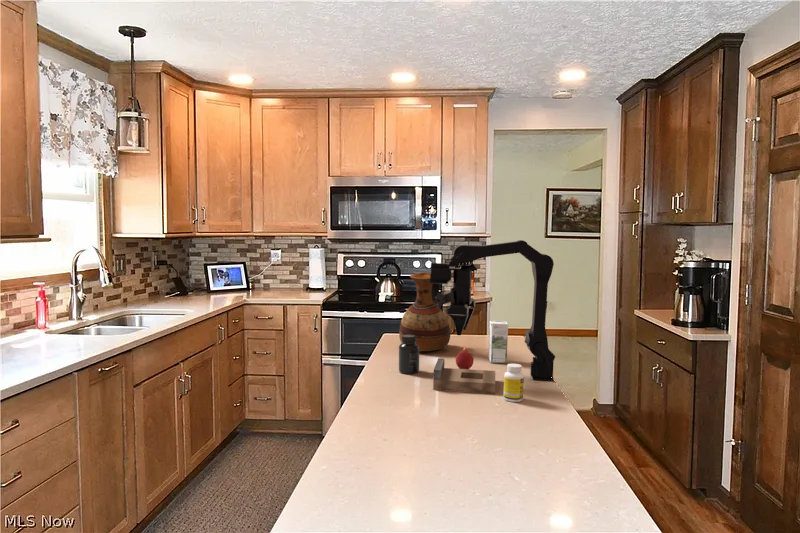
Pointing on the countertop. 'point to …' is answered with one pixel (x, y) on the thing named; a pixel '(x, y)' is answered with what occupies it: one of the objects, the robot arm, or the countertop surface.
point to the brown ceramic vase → (425, 316)
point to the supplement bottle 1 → (409, 355)
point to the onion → (464, 359)
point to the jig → (463, 379)
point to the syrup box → (498, 341)
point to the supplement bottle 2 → (513, 383)
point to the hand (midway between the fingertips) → (461, 332)
